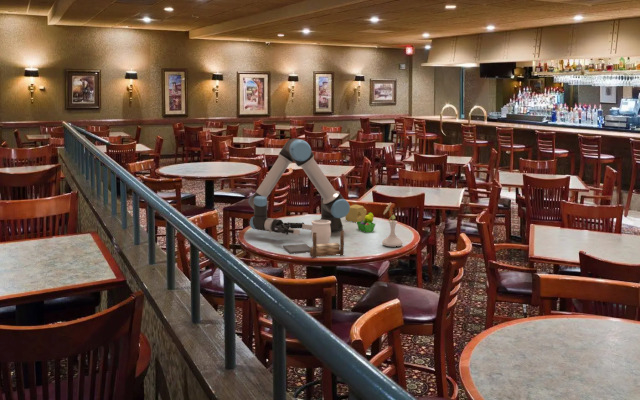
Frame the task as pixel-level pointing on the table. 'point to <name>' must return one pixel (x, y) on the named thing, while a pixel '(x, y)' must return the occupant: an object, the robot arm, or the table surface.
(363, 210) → the cheese
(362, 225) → the fruit basket
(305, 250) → the mat
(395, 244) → the flower in vase
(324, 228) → the jar
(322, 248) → the board rack
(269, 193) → the robot arm
